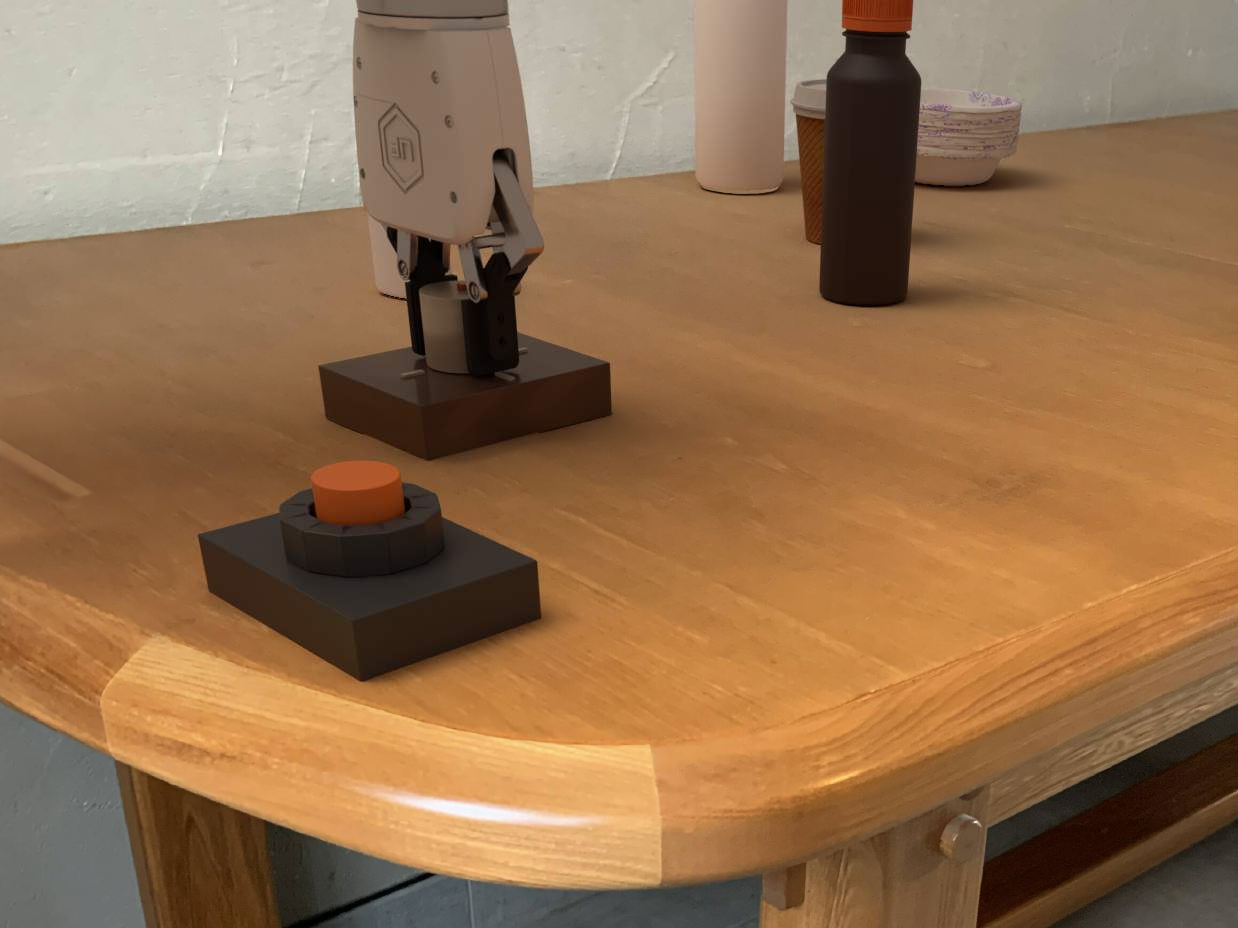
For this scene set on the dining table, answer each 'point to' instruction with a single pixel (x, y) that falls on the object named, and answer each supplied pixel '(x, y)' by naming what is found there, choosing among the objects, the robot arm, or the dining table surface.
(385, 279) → the eye dropper bottle
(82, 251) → the dining table surface
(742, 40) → the pale pink cylinder
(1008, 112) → the paper bowls
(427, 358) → the dial
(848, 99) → the dark brown water bottle
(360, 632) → the button base
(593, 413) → the dial panel
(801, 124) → the disposable coffee cup
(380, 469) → the button
